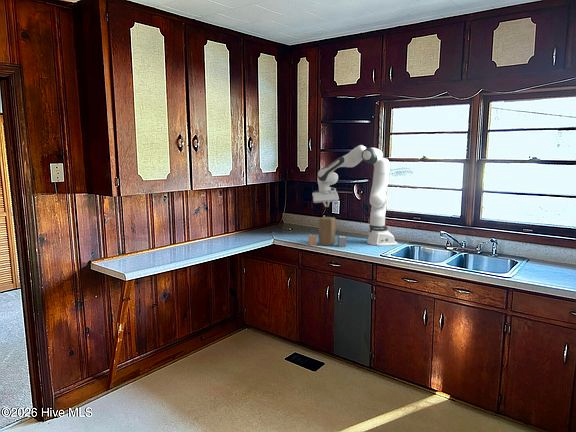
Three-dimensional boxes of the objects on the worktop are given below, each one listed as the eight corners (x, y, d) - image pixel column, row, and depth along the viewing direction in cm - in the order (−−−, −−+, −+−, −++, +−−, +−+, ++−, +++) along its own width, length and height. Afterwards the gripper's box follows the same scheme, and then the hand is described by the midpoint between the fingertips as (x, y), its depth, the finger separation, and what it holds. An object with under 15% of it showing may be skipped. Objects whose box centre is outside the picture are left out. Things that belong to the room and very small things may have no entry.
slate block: (344, 245, 311) (345, 235, 310) (346, 247, 306) (346, 237, 305) (337, 245, 311) (338, 235, 309) (339, 247, 306) (339, 237, 304)
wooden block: (318, 244, 312) (318, 218, 309) (322, 242, 321) (323, 216, 318) (331, 246, 308) (331, 219, 305) (335, 243, 317) (336, 217, 314)
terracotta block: (315, 243, 316) (315, 233, 314) (316, 245, 311) (316, 235, 309) (308, 243, 315) (308, 233, 314) (309, 245, 310) (309, 235, 309)
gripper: (312, 190, 334) (314, 205, 328) (337, 188, 335) (340, 203, 330) (311, 193, 339) (313, 209, 334) (336, 192, 341) (339, 207, 335)
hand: (327, 206), depth 332 cm, fingers closed
